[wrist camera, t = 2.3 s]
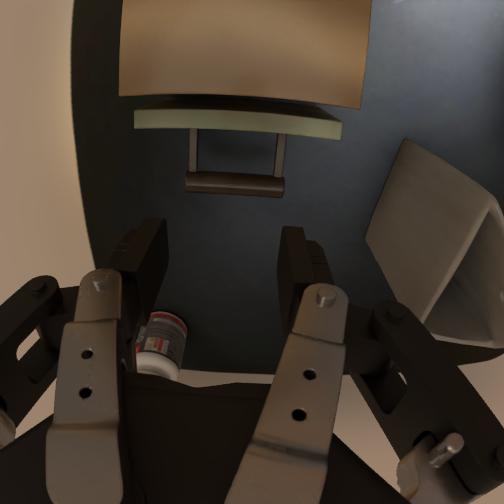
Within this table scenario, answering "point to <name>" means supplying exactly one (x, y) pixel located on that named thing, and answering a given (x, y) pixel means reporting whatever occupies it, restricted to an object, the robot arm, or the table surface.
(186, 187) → the drawer
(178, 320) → the pill bottle
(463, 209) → the planter
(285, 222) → the table surface
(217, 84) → the cabinet
